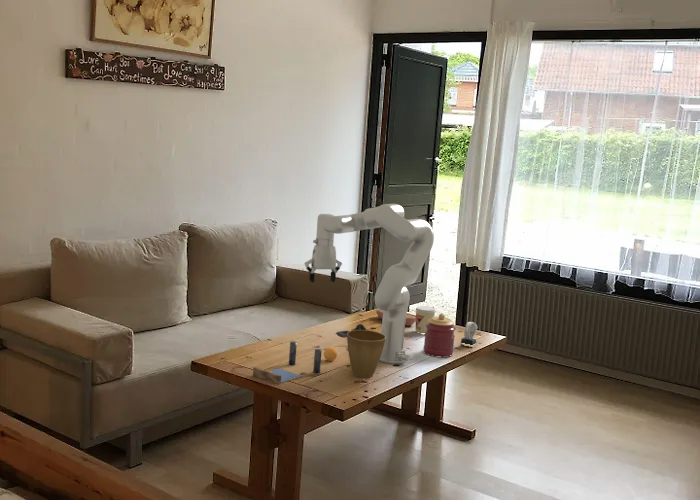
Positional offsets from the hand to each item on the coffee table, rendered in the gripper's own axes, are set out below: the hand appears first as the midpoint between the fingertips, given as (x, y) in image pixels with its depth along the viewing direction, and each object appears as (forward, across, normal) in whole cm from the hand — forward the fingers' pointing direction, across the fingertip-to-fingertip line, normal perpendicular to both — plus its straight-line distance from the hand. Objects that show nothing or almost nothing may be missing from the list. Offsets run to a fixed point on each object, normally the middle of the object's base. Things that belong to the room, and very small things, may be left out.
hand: (322, 281), depth 331 cm
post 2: (+27, -18, -40) cm, 51 cm away
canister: (+28, +46, -26) cm, 59 cm away
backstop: (+27, -39, -44) cm, 65 cm away
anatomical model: (+27, +53, +26) cm, 65 cm away
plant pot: (+28, -1, -47) cm, 54 cm away
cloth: (+28, +24, +6) cm, 37 cm away
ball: (+24, -6, -27) cm, 37 cm away
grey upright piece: (+28, +67, -18) cm, 75 cm away
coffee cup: (+27, +57, +6) cm, 64 cm away
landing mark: (+27, -33, -41) cm, 59 cm away
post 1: (+27, -23, -29) cm, 46 cm away
